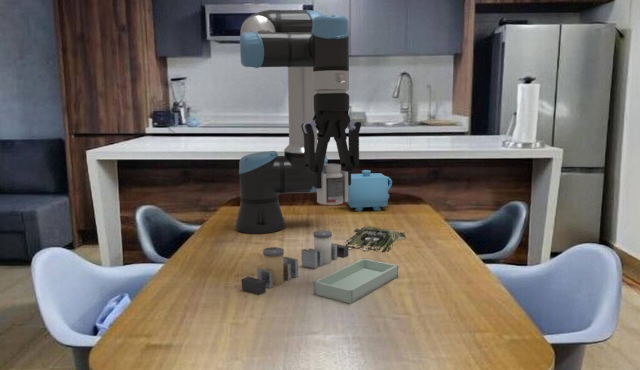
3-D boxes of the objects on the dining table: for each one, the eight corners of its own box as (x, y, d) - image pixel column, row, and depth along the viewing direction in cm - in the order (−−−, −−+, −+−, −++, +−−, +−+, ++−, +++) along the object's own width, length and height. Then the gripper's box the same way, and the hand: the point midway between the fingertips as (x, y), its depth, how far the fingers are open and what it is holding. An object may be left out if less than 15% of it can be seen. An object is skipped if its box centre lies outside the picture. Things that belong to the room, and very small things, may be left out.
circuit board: (404, 256, 137) (404, 242, 137) (335, 253, 140) (335, 239, 140) (406, 231, 161) (406, 219, 161) (347, 229, 165) (347, 218, 164)
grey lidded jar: (310, 262, 131) (309, 233, 130) (321, 257, 135) (320, 229, 134) (324, 265, 129) (324, 236, 128) (335, 260, 132) (335, 232, 131)
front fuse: (259, 283, 117) (258, 251, 116) (273, 277, 121) (272, 246, 120) (275, 287, 115) (274, 254, 113) (288, 281, 118) (287, 249, 117)
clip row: (241, 289, 113) (241, 271, 113) (332, 252, 139) (332, 237, 139) (259, 294, 110) (258, 276, 110) (348, 255, 136) (348, 240, 136)
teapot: (388, 204, 198) (388, 167, 196) (395, 210, 187) (395, 171, 185) (329, 206, 196) (328, 169, 194) (333, 213, 185) (332, 173, 183)
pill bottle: (347, 202, 116) (347, 164, 115) (334, 206, 112) (334, 166, 111) (329, 200, 119) (329, 162, 118) (316, 203, 115) (316, 165, 114)
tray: (313, 293, 111) (313, 281, 110) (363, 269, 126) (363, 258, 125) (350, 303, 105) (350, 291, 105) (398, 276, 120) (398, 265, 120)
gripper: (301, 92, 104) (303, 209, 108) (376, 91, 113) (376, 200, 116) (285, 93, 111) (288, 203, 114) (357, 92, 119) (358, 195, 123)
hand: (332, 201), depth 115 cm, fingers closed on pill bottle, 5 cm apart
